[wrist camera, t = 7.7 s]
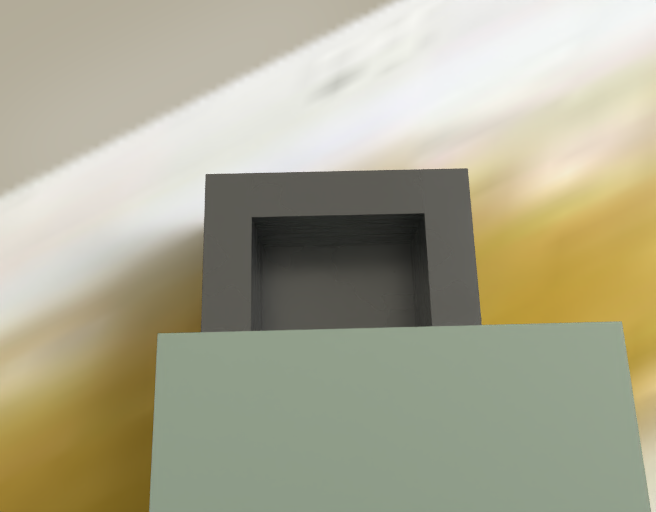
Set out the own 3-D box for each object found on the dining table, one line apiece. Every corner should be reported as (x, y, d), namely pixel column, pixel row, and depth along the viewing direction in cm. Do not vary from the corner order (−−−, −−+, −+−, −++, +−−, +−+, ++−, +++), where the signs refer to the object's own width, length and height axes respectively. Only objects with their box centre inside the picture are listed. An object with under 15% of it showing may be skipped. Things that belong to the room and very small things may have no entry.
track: (489, 825, 16) (536, 938, 12) (214, 833, 16) (182, 950, 12) (442, 214, 20) (467, 168, 16) (226, 219, 20) (205, 174, 16)
